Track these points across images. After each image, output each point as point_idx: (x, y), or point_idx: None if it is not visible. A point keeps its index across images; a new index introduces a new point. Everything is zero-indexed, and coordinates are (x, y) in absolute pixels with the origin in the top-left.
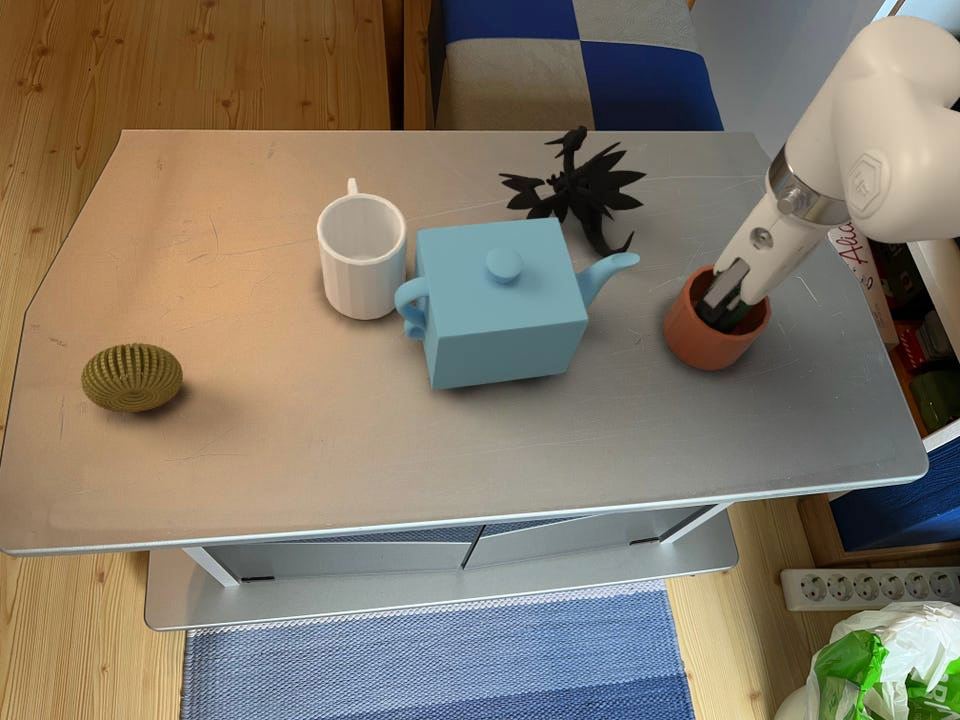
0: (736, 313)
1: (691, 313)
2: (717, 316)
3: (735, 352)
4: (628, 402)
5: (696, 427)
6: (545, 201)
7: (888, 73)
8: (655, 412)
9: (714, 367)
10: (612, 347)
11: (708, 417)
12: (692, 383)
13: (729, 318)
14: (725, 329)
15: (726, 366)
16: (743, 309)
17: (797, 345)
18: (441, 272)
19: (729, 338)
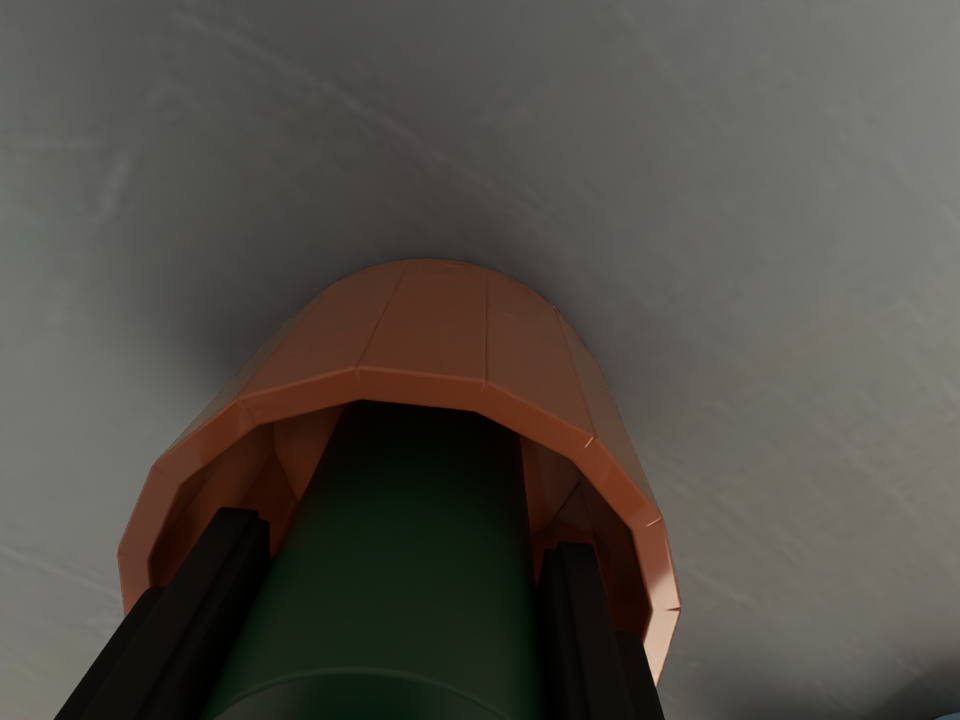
0: (504, 610)
1: None
2: (660, 708)
3: (538, 340)
4: (903, 468)
5: (860, 209)
6: None
7: None
8: (888, 374)
9: (564, 320)
10: (723, 613)
11: (781, 195)
12: (670, 336)
13: (619, 655)
14: (492, 474)
15: (502, 276)
16: (484, 639)
17: (116, 65)
18: None
19: (640, 496)
